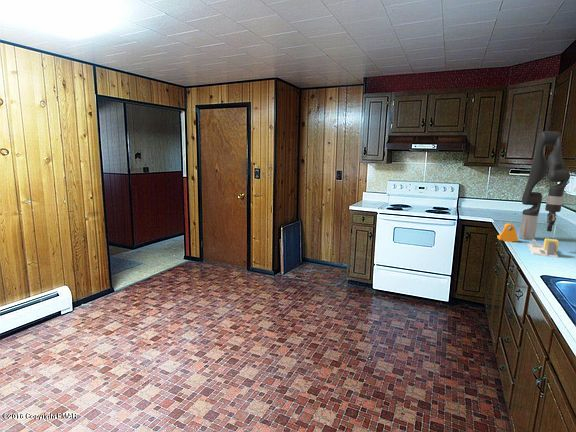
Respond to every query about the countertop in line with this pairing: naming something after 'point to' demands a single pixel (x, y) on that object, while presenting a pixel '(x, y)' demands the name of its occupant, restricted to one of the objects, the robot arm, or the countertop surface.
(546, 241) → the yellow block
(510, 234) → the bracket
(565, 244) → the countertop surface
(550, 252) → the rail plate
